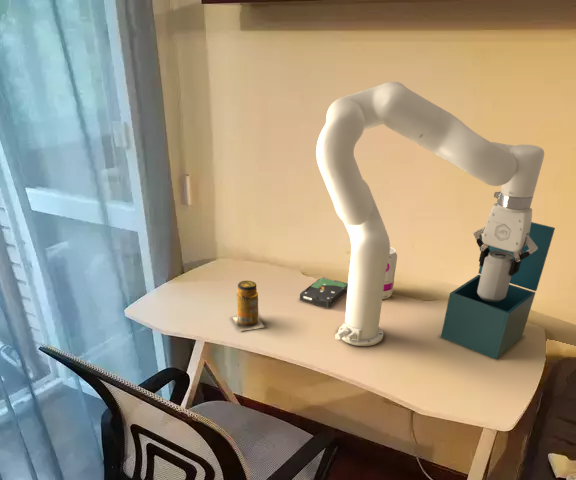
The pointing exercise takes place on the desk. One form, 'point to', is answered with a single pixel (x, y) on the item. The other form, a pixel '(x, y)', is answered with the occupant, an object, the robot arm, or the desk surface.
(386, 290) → the supplement can
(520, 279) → the lid
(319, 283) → the disk drive
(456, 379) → the desk surface
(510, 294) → the teal box
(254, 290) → the condiment
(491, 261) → the can
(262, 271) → the desk surface
